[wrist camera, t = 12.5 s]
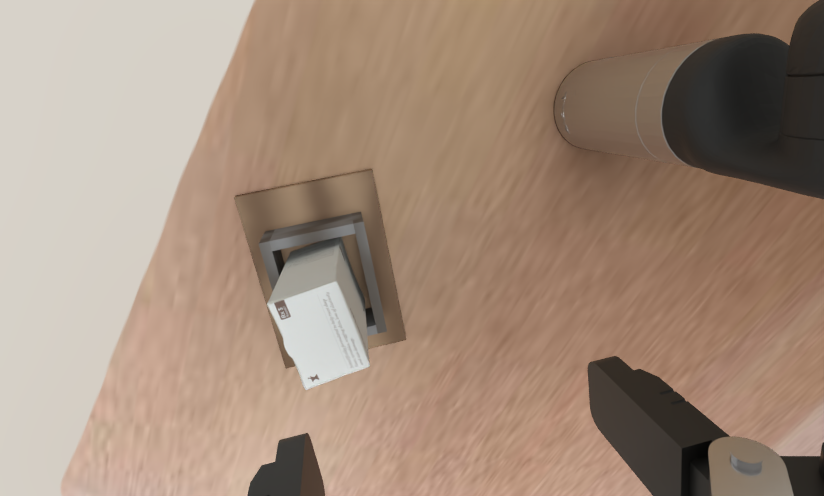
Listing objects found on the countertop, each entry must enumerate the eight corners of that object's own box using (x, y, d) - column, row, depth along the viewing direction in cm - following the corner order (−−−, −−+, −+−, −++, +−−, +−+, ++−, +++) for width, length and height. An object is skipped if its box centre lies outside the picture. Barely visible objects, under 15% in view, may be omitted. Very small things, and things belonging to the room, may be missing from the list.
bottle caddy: (371, 168, 48) (375, 176, 43) (404, 335, 55) (412, 359, 49) (236, 195, 47) (223, 206, 42) (286, 363, 53) (281, 391, 48)
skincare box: (365, 298, 51) (377, 370, 37) (313, 316, 51) (306, 396, 37) (338, 229, 49) (341, 279, 34) (284, 248, 48) (263, 307, 34)
